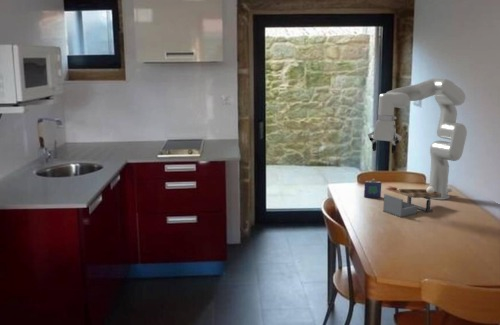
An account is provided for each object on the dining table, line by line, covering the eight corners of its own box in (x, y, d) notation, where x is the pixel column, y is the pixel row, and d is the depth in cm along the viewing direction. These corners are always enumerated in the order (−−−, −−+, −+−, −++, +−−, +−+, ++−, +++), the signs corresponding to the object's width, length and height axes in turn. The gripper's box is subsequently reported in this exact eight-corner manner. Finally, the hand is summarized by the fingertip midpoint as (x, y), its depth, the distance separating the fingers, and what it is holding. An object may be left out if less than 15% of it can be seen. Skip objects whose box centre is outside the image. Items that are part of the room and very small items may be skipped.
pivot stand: (409, 204, 278) (410, 193, 276) (432, 211, 265) (433, 200, 264) (404, 205, 276) (405, 194, 274) (427, 212, 263) (427, 201, 262)
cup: (399, 207, 272) (400, 191, 270) (416, 213, 262) (418, 196, 260) (383, 211, 266) (384, 194, 264) (400, 217, 256) (401, 199, 254)
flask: (380, 196, 293) (381, 178, 290) (381, 198, 290) (382, 179, 287) (363, 196, 293) (364, 178, 291) (364, 198, 290) (365, 179, 288)
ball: (428, 193, 276) (430, 186, 276) (434, 195, 273) (436, 188, 272) (423, 192, 274) (425, 185, 273) (430, 194, 270) (432, 186, 270)
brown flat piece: (412, 190, 287) (412, 185, 286) (443, 199, 269) (444, 194, 269) (384, 190, 275) (385, 185, 275) (415, 199, 258) (416, 194, 258)
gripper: (404, 118, 261) (402, 152, 265) (371, 116, 270) (369, 148, 274) (400, 120, 255) (398, 154, 259) (366, 117, 264) (364, 151, 268)
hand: (383, 151), depth 266 cm, fingers open, 9 cm apart
